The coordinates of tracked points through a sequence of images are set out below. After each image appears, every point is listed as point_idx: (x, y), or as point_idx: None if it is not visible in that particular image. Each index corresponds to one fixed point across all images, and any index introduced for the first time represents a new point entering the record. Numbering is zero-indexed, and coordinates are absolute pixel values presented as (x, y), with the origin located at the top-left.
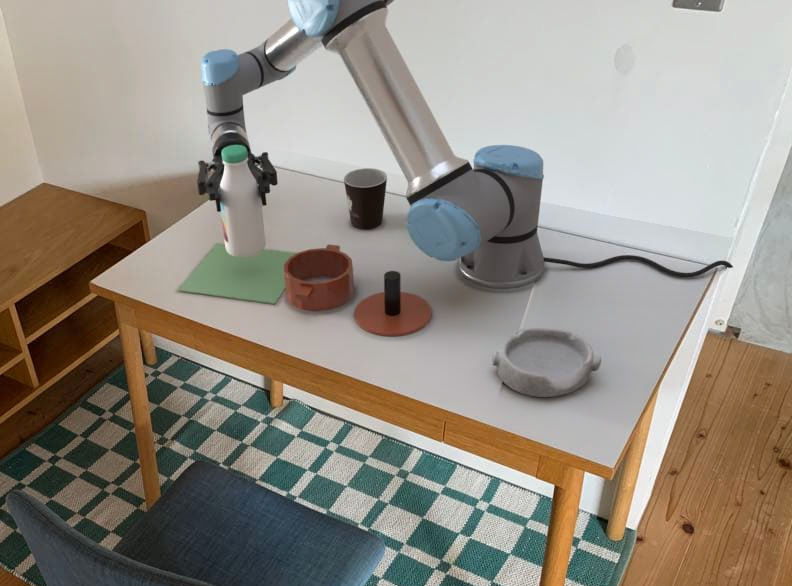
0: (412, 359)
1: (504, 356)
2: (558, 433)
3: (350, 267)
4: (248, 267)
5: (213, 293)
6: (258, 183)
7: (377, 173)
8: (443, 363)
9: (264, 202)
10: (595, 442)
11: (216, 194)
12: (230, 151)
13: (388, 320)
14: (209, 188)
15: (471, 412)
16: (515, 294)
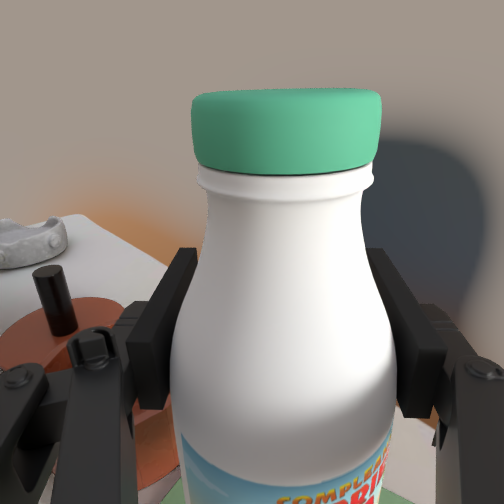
0: (110, 281)
1: (55, 226)
2: (79, 225)
3: (64, 343)
4: None
5: (383, 494)
6: (165, 342)
7: None
8: (87, 273)
9: None
10: (66, 220)
11: (384, 262)
12: (310, 88)
13: (86, 316)
14: (457, 343)
15: (115, 239)
16: None
